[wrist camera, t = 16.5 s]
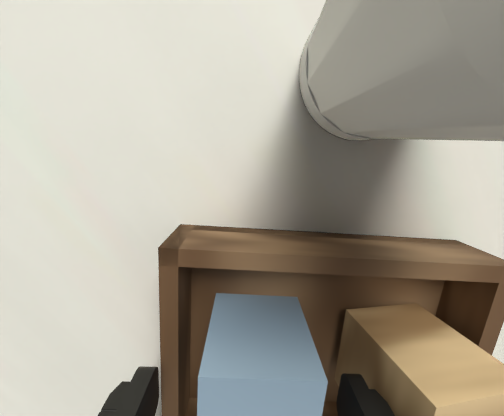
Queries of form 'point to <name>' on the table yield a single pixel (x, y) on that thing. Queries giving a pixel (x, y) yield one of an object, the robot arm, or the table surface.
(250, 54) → the table surface
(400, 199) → the table surface
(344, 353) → the oak block
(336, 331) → the tray
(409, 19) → the cup
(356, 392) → the robot arm
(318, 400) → the slate block
